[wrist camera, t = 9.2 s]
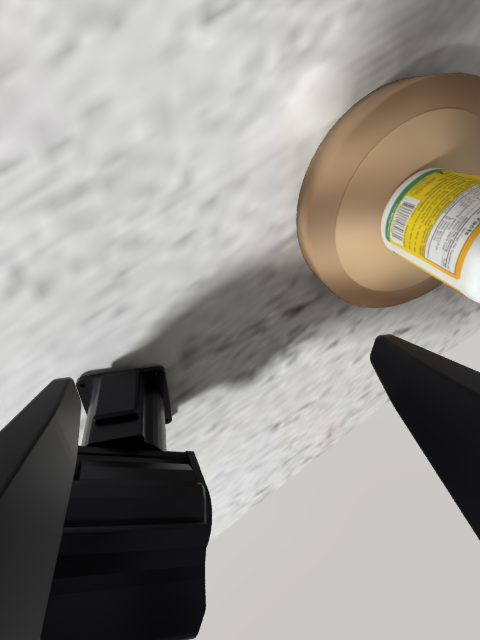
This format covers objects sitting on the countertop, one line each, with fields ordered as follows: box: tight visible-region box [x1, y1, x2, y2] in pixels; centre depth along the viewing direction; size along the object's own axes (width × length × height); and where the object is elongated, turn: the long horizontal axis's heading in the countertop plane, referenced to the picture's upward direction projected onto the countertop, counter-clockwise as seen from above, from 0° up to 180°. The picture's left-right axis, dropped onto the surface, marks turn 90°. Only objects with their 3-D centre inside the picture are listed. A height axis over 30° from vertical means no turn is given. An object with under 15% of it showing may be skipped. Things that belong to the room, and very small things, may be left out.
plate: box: [296, 73, 480, 308], centre depth 21 cm, size 14×14×3 cm
